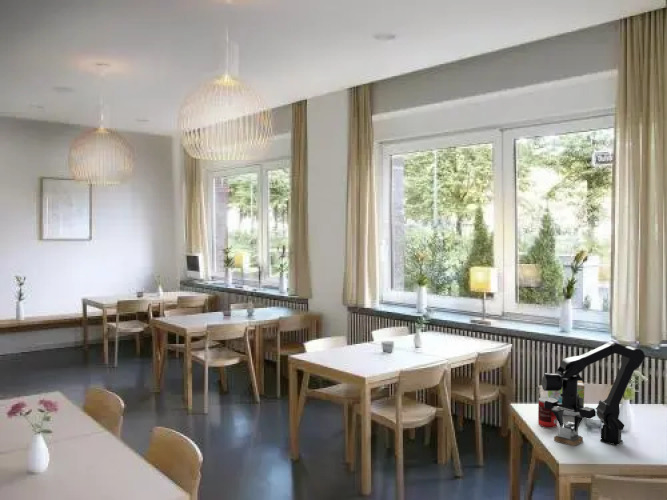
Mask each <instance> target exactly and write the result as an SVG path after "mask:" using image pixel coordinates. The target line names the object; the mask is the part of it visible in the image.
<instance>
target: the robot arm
mask: <svg viewBox="0 0 667 500" xmlns="http://www.w3.org/2000/svg"><path fill="white" fill-rule="evenodd" d="M614 354H617V355H619V356H620V367H619V370H618V372H617V375H616V376H615V379H614V382H613V384H612V386H611V389H610V391H609V393H608V396H607V397H606V399H604V400H601V399H600V400H599V401H598V405H597V407H595V408H593V407H588V406H584V408H582V409H581V408H577V406H578V407H579V406H583V400H584V401H585V398H584V399H583V398H581V397H579V393H577V389H578V381H582V382H583V381H584V378H582V376H581V375H580V373H581V372H583V371H584V370H585V369H586V368H587V367H588V366H590V365H592V364H594V363H596V362H598V361H600V360H604V359H605V358H607V357H609V356H611V355H614ZM645 357H646V354H645V352H644V351H643V350H642V349H641V348H638V347H635V346H633V345H627V346H625V345H622V344H619V343H617V342H614V341H612V340H611V341H608V342H606V343H605V344H603V345H600V346H598V347H596V348H595V349H591V350H590V351H587V352H586V353H585V352H584V353H582V354H580V355H575V356H569V357H566V358H563V359H562V360H561V361H560V365H559V367H558V368H556V371H555V372H554V373H549V372H545V373H543V376H542V379H541V387H542V390H543V391H544V392H548V391H559V390H561V389H562V393H561V394H560V396H562V403H561V404H560V402H559V401H558V400H554V399H549V400H547V401H545V402H544V408H547V409H552V410H551V412H553V413H554V415H555V416H556V418H557V424H559V425H558V426H559V427H560V426H562V425H564V415H563V412H564V410H568V411H572V412H577V415H576V416H573V417H574V421H573V423H574V429H575V432H577V430H578V431H579V427H580V425H581V423H582V420H583V419H589V420H590V419H593V418H594V417H596V416H597V418H598V419H599V420H600V423H602V425H601V426H602V427H601V428H600V440H599V441H600V442H603V443H605V444H606V443H607V444H610V445H614V446H618V445H620V444H622V443H623V439H622V431H623V430H624V427H625V424H624V422H622V421H621V420H620V419H619V417H620V404H621V401H622V400H623V399H622V398H623V397H624V394H625V392H626V389H627V387H628V385H629V383H630V381H631V378H632V376H633V374H634V372H635V371H636V370H637V369H638V368H640V367H641V366H642V363H643V362H644V361H645ZM595 409H596V410H595Z"/></svg>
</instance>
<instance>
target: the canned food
mask: <svg viewBox="0 0 667 500" xmlns="http://www.w3.org/2000/svg"><path fill="white" fill-rule="evenodd" d="M549 399H554V398H551V397H547V396H541V397H539V398H538V408H537V409H538V413H537V414H538V419H537V423H538V425H539V426H541V427H544V428H551V429H552V428H556V427H557V425H558V420H557V418H556V416H555V415H554V413H553V412H551V410H552V409H547V408H544V402H545V401H547V400H549ZM554 400H556V399H554Z"/></svg>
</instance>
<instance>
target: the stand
mask: <svg viewBox="0 0 667 500" xmlns="http://www.w3.org/2000/svg"><path fill="white" fill-rule="evenodd" d="M583 439H584V436H582V435H580V434H578V436H576V437H574V438H572V439H571V440H570V439H567V438H563V437H559V433H558V434H556V435H555V436H553V440H554V442H557V443H562V444H565V445H569V446H572V447H575V446H577V445H578V444H580V443H582V442H583V441H584V440H583Z"/></svg>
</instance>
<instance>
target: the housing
mask: <svg viewBox="0 0 667 500" xmlns="http://www.w3.org/2000/svg"><path fill="white" fill-rule="evenodd" d="M558 434H559V437H563V438H567V439H570V440H571V439H572V438H574V437H576V436H578V435H579V429H578V430H577V432H575V429H574V422H571V421H568V422H563V425H562V426H560V425H559V433H558Z"/></svg>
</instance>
